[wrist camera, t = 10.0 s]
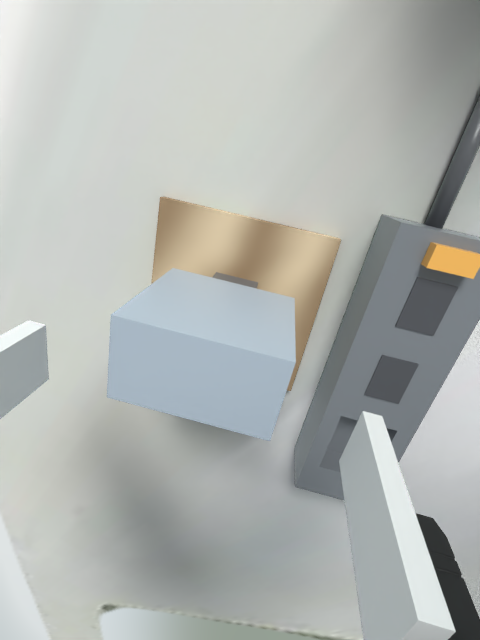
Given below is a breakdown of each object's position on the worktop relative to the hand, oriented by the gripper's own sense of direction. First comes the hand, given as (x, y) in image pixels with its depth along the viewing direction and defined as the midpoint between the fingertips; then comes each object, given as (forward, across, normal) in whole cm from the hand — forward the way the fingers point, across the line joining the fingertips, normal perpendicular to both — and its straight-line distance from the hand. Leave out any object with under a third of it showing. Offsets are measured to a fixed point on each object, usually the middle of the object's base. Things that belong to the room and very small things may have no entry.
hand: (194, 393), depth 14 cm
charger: (+11, 0, 0) cm, 11 cm away
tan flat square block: (+12, 0, 0) cm, 12 cm away
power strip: (+12, +11, +2) cm, 16 cm away
